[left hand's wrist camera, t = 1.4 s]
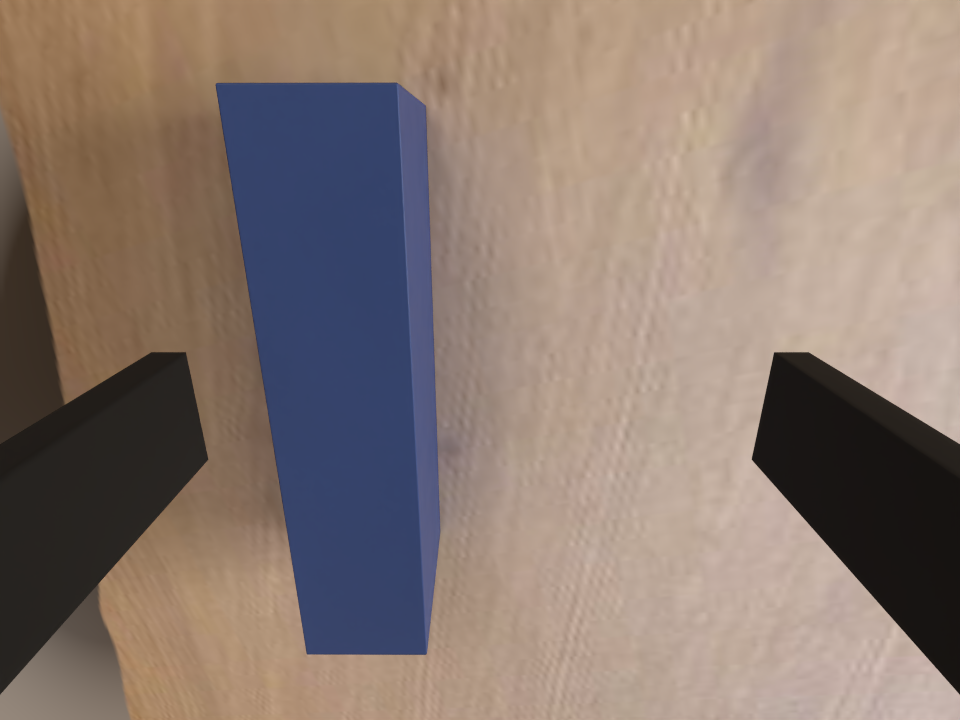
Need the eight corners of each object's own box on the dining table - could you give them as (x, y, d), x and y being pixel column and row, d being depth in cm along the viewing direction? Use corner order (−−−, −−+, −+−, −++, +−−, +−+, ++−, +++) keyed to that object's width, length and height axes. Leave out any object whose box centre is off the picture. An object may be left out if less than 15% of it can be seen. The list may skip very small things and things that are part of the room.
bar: (302, 105, 25) (214, 82, 17) (425, 105, 25) (397, 82, 17) (349, 532, 34) (306, 655, 26) (440, 532, 34) (426, 655, 26)
